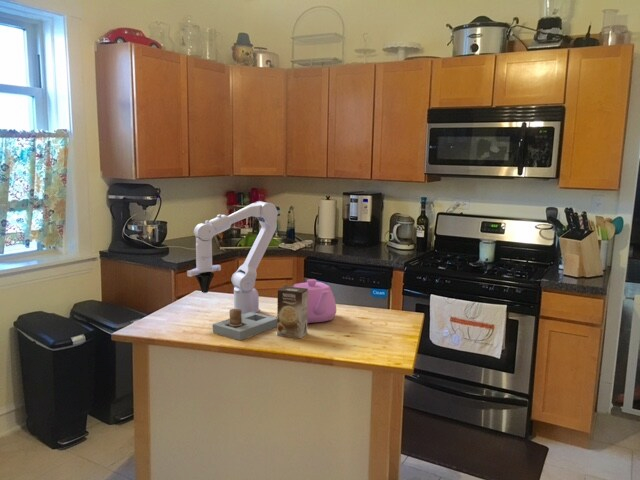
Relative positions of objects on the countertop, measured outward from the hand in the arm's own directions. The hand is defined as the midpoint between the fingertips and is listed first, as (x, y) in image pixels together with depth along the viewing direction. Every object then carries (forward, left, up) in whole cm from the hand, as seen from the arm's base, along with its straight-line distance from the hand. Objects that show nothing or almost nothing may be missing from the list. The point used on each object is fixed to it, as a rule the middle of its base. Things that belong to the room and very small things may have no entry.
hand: (204, 292), depth 196 cm
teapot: (-24, +32, -10) cm, 41 cm away
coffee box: (-6, +37, -10) cm, 39 cm away
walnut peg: (+5, +21, -10) cm, 24 cm away
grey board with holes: (0, +21, -10) cm, 23 cm away
